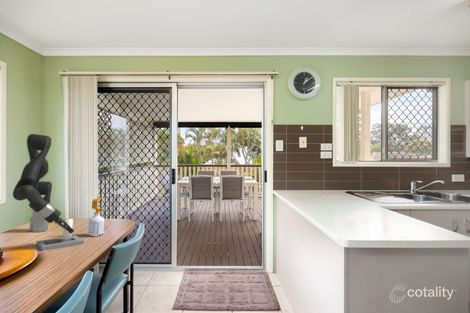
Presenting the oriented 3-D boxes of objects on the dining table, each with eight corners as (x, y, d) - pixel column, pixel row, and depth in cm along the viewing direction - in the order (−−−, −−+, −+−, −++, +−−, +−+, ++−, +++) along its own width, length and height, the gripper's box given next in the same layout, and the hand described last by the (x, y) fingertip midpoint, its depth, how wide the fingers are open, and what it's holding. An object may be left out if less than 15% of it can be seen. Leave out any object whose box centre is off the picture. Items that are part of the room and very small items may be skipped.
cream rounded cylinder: (60, 242, 149) (62, 220, 149) (65, 240, 153) (66, 218, 154) (68, 243, 149) (70, 220, 150) (72, 240, 153) (74, 218, 154)
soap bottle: (106, 234, 174) (108, 197, 175) (95, 237, 165) (98, 199, 166) (95, 232, 176) (98, 196, 177) (84, 235, 168) (87, 198, 169)
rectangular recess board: (42, 250, 136) (42, 247, 137) (36, 244, 146) (36, 241, 146) (83, 243, 151) (84, 240, 151) (75, 238, 161) (76, 235, 161)
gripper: (58, 209, 142) (80, 228, 150) (51, 205, 151) (73, 223, 160) (45, 220, 137) (69, 239, 146) (39, 215, 147) (62, 233, 155)
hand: (71, 231), depth 153 cm, fingers closed on cream rounded cylinder, 4 cm apart
